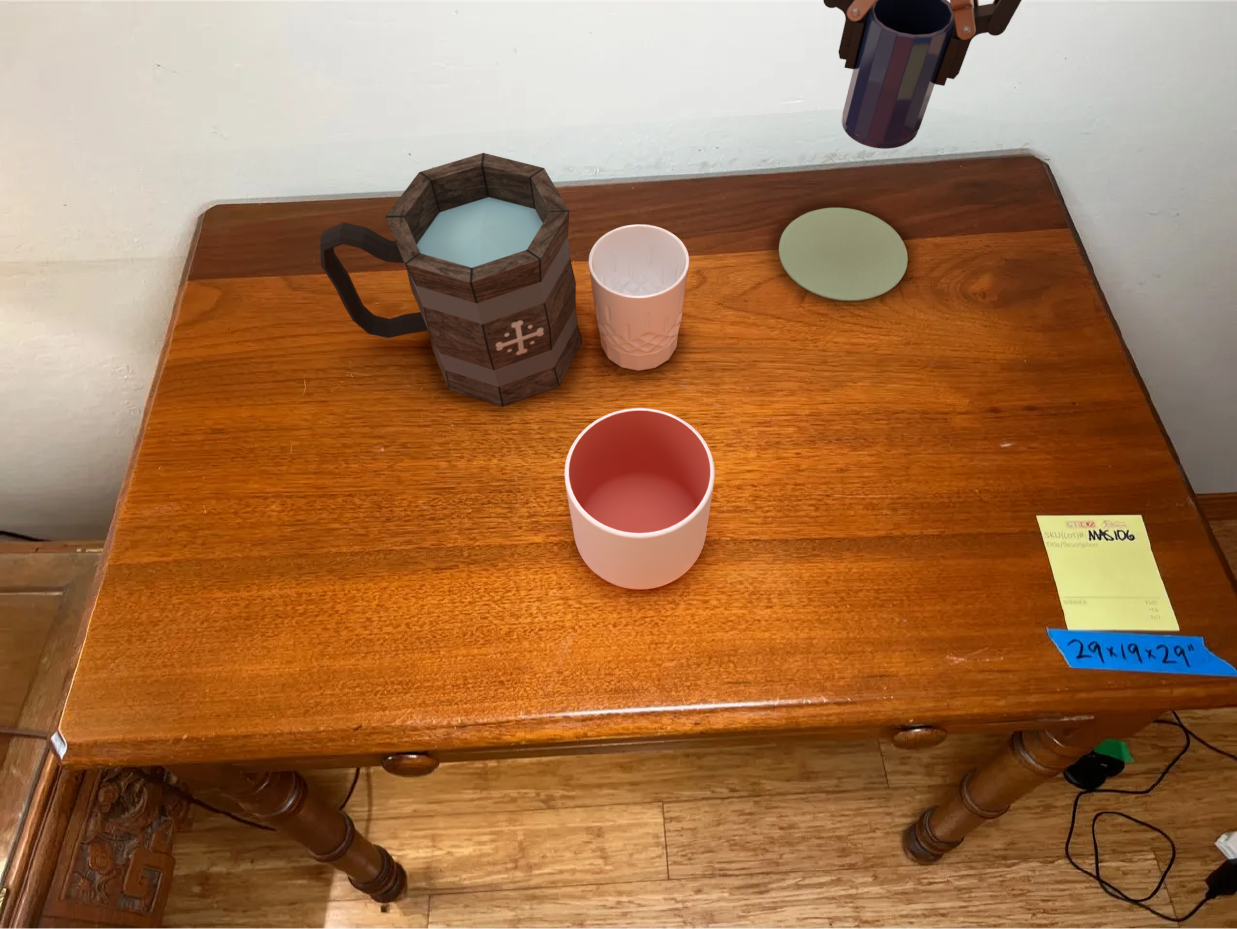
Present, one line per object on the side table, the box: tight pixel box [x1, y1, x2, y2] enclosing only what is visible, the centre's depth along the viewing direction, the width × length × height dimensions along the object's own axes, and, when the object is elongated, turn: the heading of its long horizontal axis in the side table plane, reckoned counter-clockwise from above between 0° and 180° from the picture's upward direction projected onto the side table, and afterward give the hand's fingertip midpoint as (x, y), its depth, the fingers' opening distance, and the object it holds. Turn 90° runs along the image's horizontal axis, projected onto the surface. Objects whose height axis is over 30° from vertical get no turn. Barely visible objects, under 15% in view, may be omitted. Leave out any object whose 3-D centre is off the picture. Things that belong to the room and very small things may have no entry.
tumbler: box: [841, 0, 955, 150], centre depth 61 cm, size 6×6×9 cm
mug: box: [319, 152, 583, 408], centre depth 66 cm, size 20×14×15 cm
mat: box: [778, 207, 909, 302], centre depth 77 cm, size 12×12×1 cm
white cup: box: [588, 223, 690, 371], centre depth 68 cm, size 8×8×10 cm
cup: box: [564, 407, 716, 590], centre depth 58 cm, size 10×10×10 cm
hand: (895, 69), depth 60 cm, fingers closed on tumbler, 6 cm apart
